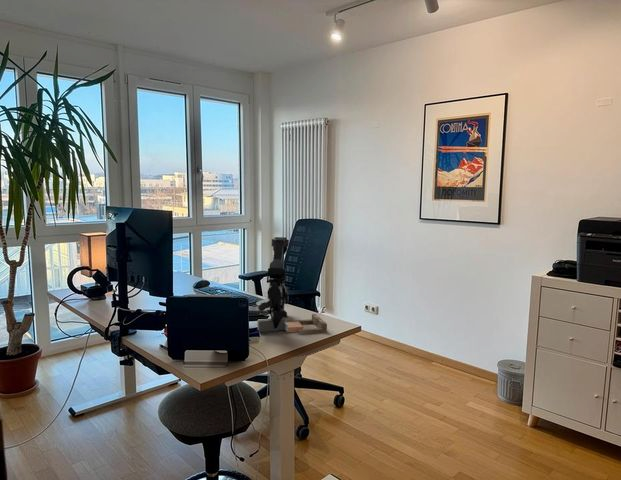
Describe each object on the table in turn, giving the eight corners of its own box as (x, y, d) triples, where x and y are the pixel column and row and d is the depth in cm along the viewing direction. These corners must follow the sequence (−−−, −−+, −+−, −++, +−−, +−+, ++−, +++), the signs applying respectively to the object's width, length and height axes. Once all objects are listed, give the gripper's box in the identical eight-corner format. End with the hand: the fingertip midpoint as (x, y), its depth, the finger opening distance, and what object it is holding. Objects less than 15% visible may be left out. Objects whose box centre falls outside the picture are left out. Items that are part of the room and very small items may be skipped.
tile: (283, 327, 201) (283, 322, 200) (298, 326, 203) (298, 321, 202) (287, 332, 194) (288, 327, 194) (302, 331, 196) (302, 326, 196)
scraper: (259, 334, 190) (259, 323, 189) (256, 329, 196) (256, 318, 196) (287, 331, 194) (287, 320, 193) (283, 326, 201) (283, 315, 200)
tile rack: (289, 323, 206) (290, 315, 205) (315, 321, 210) (315, 313, 209) (299, 334, 192) (299, 325, 191) (326, 332, 196) (327, 323, 195)
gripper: (253, 289, 200) (253, 321, 202) (262, 299, 182) (261, 335, 184) (277, 288, 203) (276, 320, 205) (288, 298, 186) (286, 333, 188)
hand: (274, 327), depth 195 cm, fingers closed on scraper, 3 cm apart
